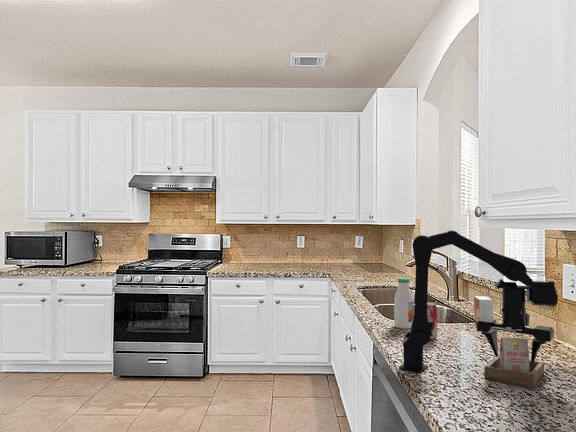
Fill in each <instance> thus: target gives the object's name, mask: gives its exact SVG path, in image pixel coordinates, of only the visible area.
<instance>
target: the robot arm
mask: <svg viewBox="0 0 576 432" xmlns="http://www.w3.org/2000/svg"><path fill="white" fill-rule="evenodd" d="M450 245H452V246H454V247H456V248H459V249H460V250H462V251H464V252H465V253H467V254H469V255H471V256H473V257H475V258H477V259H478V260H481V261H483V262H484V263H486V264H488V265H489V266H491V267H492V268H493V269H494V270H496V271H497V272H498V273H500V274H501V275H502V276H503V277H505V278H506V279H508V280H509V281H504V280H503V279H502V278H500V279H499V280H498V281H497V282H496V283H494V287H495V288H496V289H501V295H502V299H501V300H502V305H501V306H502V307H501V318H502V322H501V323H498V322H497V319H494V318H493V319H486V318H483V319H481V320H479V321H478V322H476V331H477V332H480V333H481V335H484V336H485V338H486V340H487V341H488V344H489V345H490V348H491V350H492V352H493V354H494V357H498V354H499V345H498V344H499V343H498V331H503V332H510V333H515V334H520V335H521V334H522V335H530V336H533V339H532V341H531V355H530V356H531V357H530V360H531V363H532V364H533V363H534V361H536V358H537V356H538V353H539V350H540V349H541V346H542V345H546V344H547V342H548V343H549V342H552V341H553V339H554V338H555V329H554V328H552V326H544V325H536V326H535V327H529V326H530V314H529V313H527V309H526V301H527V302H530V303H531V305H532V306H542V307H543V306H545V307H546V306H547V307H556V306H557V305H558V302H559V301H558V300H559V295H558V294H557V289H556V285H555V281H553V280H545V281H544V280H543V281H541V280H533V279H532V278H531V277H530V276H529V274H528V273H527V270H528V269H527V267H526V265H525V264H524V263H523V262H522V261H519V260H517V259H514V258H511V257H509V256H506V255H502V254H500V253H497V252H494V251H492V250H490V249H488V248H486V247H484V246H482V245H481V244H478V242H475V241H474V240H471V239H469V238H467V237H466V236H464V235H461V234H460V233H458V232H457V231H456V230H452V229H451V230H450V229H449V230H447V231H446V232H442V233H437V234H433V235H429V236H427V235H425V234H419V235H417V236H416V237H415V238H414V239H413V241H412V251H413V252H412V253H413V258H414V259H413V260H414V265H415V277H414V278H415V282H414V283H415V284H414V286H415V287H414V315H413V319H412V324H411V328H410V329H409V331H408V332H407V333H406V334H405V335H404V336H403V339H402V347H403V351H402V353H403V363H402V364H401V365H399V366H398V369H400V370H404V371H409V372H413V373H417V374H420V373H421V372H423V371H425V370H426V369H428V368H429V365H427V364H424V347H425V346H426V345H427V344H429V342H430V341H431V340H430V336H432V337H433V332H432V326H433V318H428V316H427V302H428V292H429V291H428V290H429V289H428V288H429V265H430V262H431V258H432V253H433V250H436V249H440V248H444V247H445V246H446V247H447V246H450ZM517 282H520V283H521V284H523V285H520V284H517Z"/></svg>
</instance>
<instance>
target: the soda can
mask: <svg viewBox="0 0 576 432" xmlns="http://www.w3.org/2000/svg"><path fill="white" fill-rule="evenodd" d="M436 304H437V303H436V302H432V301H427V316H428V318H433V326H432V332H433V337H432V336H430V341H433V340H436V338H437V337H438V307H437V305H436Z"/></svg>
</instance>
